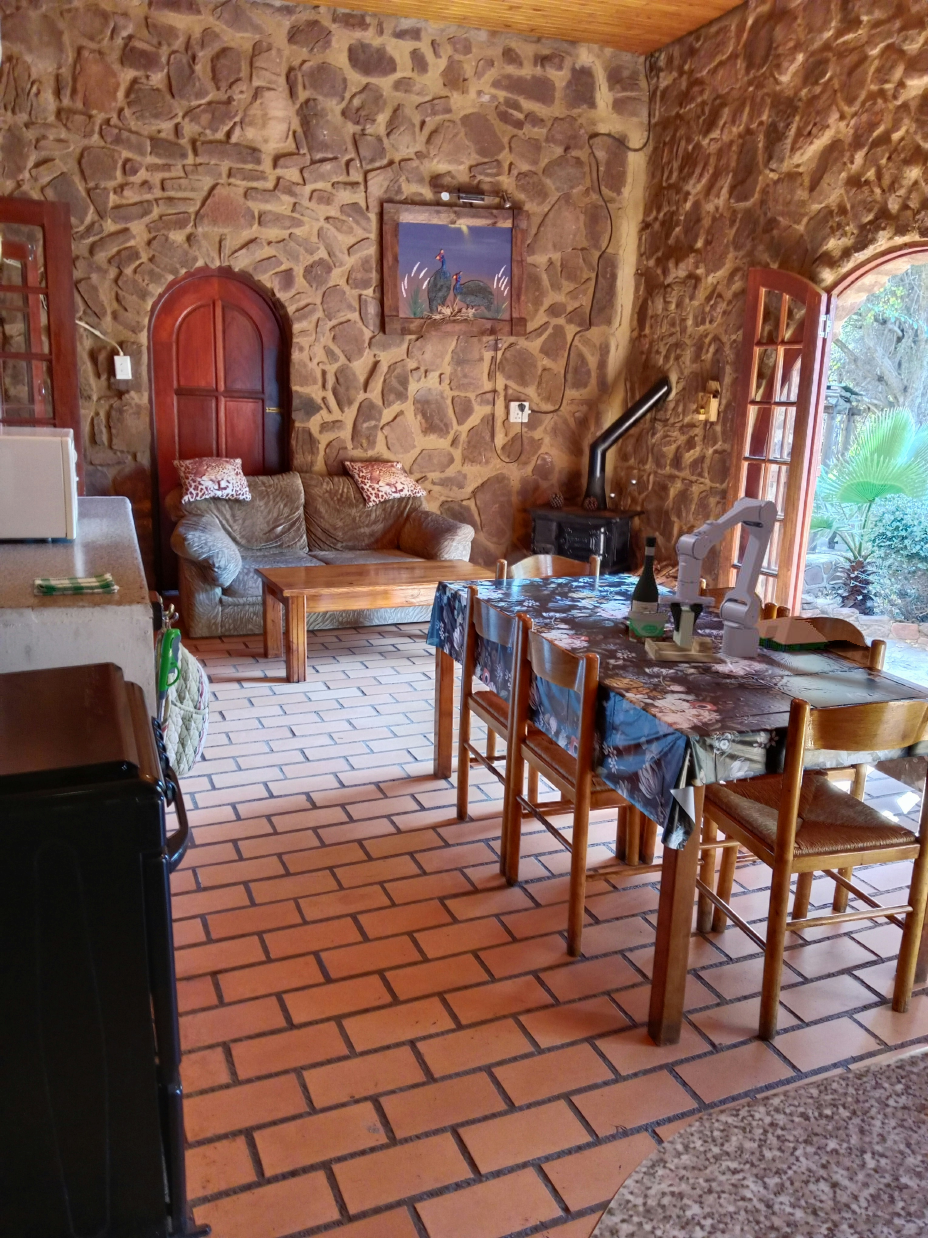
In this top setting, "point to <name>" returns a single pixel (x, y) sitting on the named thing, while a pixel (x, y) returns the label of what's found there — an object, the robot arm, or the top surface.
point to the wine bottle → (646, 583)
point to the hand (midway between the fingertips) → (683, 631)
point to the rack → (676, 652)
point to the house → (789, 632)
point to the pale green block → (685, 628)
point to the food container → (646, 625)
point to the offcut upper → (703, 643)
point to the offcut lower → (696, 650)
